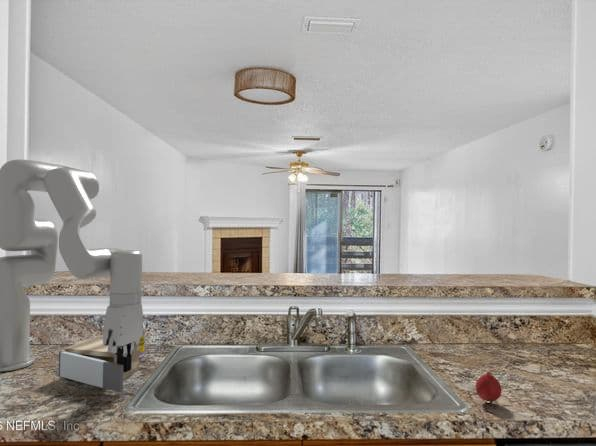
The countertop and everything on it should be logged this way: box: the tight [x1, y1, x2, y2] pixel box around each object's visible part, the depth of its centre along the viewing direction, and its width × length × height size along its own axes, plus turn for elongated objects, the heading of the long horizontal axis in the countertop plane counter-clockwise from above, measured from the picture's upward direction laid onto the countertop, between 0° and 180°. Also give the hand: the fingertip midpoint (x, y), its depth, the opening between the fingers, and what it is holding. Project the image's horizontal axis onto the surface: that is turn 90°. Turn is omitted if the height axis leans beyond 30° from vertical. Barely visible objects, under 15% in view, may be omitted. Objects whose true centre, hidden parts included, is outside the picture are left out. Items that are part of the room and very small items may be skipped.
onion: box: [475, 371, 502, 403], centre depth 102 cm, size 6×6×8 cm
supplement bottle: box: [139, 323, 146, 359], centre depth 130 cm, size 7×7×13 cm
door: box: [57, 350, 124, 393], centre depth 106 cm, size 23×1×6 cm, turn 65°
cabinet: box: [64, 337, 140, 381], centre depth 115 cm, size 16×10×8 cm, turn 80°
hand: (123, 370), depth 106 cm, fingers closed
